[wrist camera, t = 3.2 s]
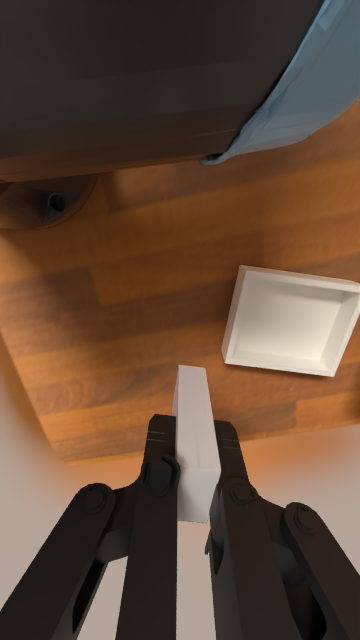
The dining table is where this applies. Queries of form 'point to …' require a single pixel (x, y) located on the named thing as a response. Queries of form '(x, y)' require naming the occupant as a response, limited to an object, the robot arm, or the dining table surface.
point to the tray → (290, 320)
